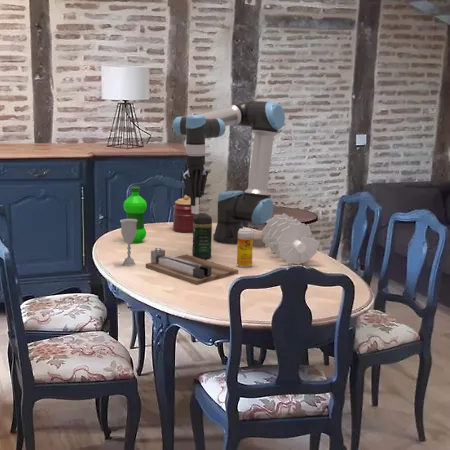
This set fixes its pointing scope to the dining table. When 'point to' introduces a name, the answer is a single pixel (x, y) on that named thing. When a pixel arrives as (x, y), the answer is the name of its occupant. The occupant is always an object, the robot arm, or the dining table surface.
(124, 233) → the chalice
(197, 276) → the grey l-shaped bar
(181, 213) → the canister
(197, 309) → the dining table surface
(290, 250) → the spiral staircase
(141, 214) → the plastic bottle
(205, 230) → the coffee jar
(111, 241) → the dining table surface
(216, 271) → the cutting board
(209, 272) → the arm
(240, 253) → the beer can
